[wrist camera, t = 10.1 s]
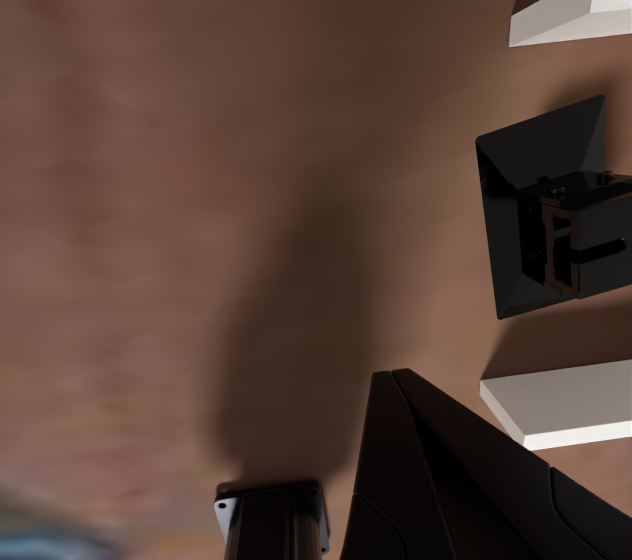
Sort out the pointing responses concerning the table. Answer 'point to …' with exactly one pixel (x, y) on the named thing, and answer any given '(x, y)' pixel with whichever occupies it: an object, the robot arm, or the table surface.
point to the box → (585, 381)
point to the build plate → (554, 210)
